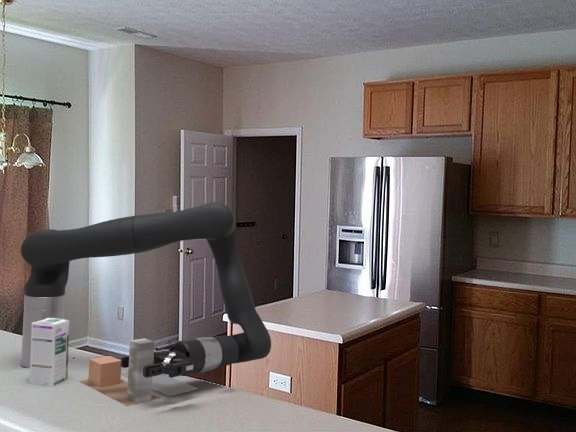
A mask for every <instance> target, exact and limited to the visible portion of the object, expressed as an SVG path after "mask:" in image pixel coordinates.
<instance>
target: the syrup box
mask: <svg viewBox="0 0 576 432" xmlns="http://www.w3.org/2000/svg"><path fill="white" fill-rule="evenodd" d="M69 337H70V319H66V318H64V319H61V318H46V319H44V320H40V321H37V322H33V323H32V328H31V359H30V368H29V370H30V371H29V384H32V385H33V384H34V385H42V386H48V387H53V386H56V385H57V384H60V383H62V382H65V381H66V380H68V373H69V371H68V369H69V346H70V345H69V342H70V341H69V340H70V338H69Z"/></svg>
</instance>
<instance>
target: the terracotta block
mask: <svg viewBox="0 0 576 432" xmlns="http://www.w3.org/2000/svg"><path fill="white" fill-rule="evenodd" d="M88 362H89V363H88V382H90V383H92V384H94V385H96V386H98V387H104V386H109V385H114V384H118V383H120V381H121V380H122V379H121V378H122V377H121V376H122V375H121V373H122V367H121V359H119V358H115V357H114V356H111V355H108V356H101V357H94V358H89V361H88Z"/></svg>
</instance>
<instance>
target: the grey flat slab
mask: <svg viewBox="0 0 576 432" xmlns="http://www.w3.org/2000/svg"><path fill="white" fill-rule="evenodd" d="M121 376H124V377H126V378H127V379H128V371H126V372H121ZM152 390H154V391H155V392H156V391H157V392H159V393H161V394H163V395H166V396H168V397H173V396H176V395H179V394H181V395H182V394H185V393H189V392H193V391H197V390H199V388H198V387H196V386H193V385H191V384H188V383H186V382H184V381H181V380H180V379H179V380H178V379H176V378H175V377H173V378H171V377H169V375H166V376H161V374H160V375H158V376H153V377H152Z"/></svg>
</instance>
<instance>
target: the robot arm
mask: <svg viewBox="0 0 576 432" xmlns="http://www.w3.org/2000/svg"><path fill="white" fill-rule="evenodd" d="M236 233H237V231H236V217H235V215H234V212H232V209H231V208H230V207H229V206H228V205H226V204H224V203H221V202H219V201H218V202H217V201H213V202H208V203H204V204H201V205H197V206H194V207H190V208H185V209H181V210H177V211H171V212H168V211H167V212H158V213H157V212H156V213H146V214H138V215H130V216H124V217H119V218H113V219H109V220H105V221H101V222H98V223H94V224H90V225H87V226H86V225H85V226H83V227H78V228H72V229H61V230H60V229H58V230H57V229H55V228H54V229H52V228H51V229H49V228H48V229H41V230H36V231H34V232H32V233H30V234H29V235H28V236H27V237H26V238H25V239H24V240H23V242H22V243H21V247H20V254H21V257H22V259H23V260H24V261H25V262H26V263H27V264H28V265H30V267H31V268H30V269H31V270H30V275H29V277H28V279H27V281H26V282H25V284H24V295H23V297H24V299H23V323H22V343H21V344H22V345H21V360H20V361H21V362H20V364H21V367H23V368H27V369H28V368H29V369H30V359H31V328H32V323H33V322H37V321H40V320H44V319H46V318H61V319H65V318H64V317H65V300H66V299H65V296H66V288H67V284H68V280H69V273H70V262H72V261H76V260H81V259H87V258H89V259H90V258H107V257H117V256H118V257H119V256H128V255H133V254H140V253H141V254H142V253H145V252H149V251H153V250H156V249H160V248H163V247H165V246H168V245H170V244H174V243H177V242H183V241H190V240H191V241H192V240H193V241H194V240H204V239H205V240H206V241H207V243H208V245H209V248H210V250H211V252H212V255H213V258H214V261H215V265H216V268H217V274H218V280H219V281H218V282H219V285H220V286H219V287H220V292H221V296H222V300H223V303H224V304H223V305H224V307H225V312H226V315H227V318H228V321H229V322H230V323H231V324H234V325H239V326H240V328H241V329H242V332H241V333H236V334H235V333H234V334H232V335H231V334H230V335H227V334H226V335H224V334H223V335H218V336H212V337H211V336H209V337H208V336H207V337H206V336H205V337H197V338H191V339H190V338H189V339H184V340H183V339H182V340H178V341H176V342H175V343H174V344H173V345H172V347H171V349H161V350H160V348H159V347H154V356H153V365H148V366H144V368H143V376H144V377H146V378H148V377H153V376H158V375H160V374H161V376H166V375H167V376H169V377H171V378H176V377H180V376H181V377H185V376H189V375H190V376H191V375H194V374H199V373H200V374H201V373H204V372H208V371H211V370H214V369H217V368H222V367H226V366H227V367H228V366H230V365H232V364H239V363H248V362H251V361H256V360H262V359H264V358H266V357H268V355H269V354H270V353H271V349H272V339H271V335H270V333H269V331H268V328H267V327H266V325H265V324H264V322H263V320H262V318H261V316H260V314H259V313H258V312H257V310H256V306H255V302H254V299H253V294H252V292H251V289H250V285H249V282H248V279H247V277H246V274H245V270H244V267H243V264H242V261H241V257H240V254H239V249H238V243H237V242H238V241H237V234H236ZM120 360H121V368H122V369H125V368H129V355H126V356H121V358H120Z"/></svg>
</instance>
